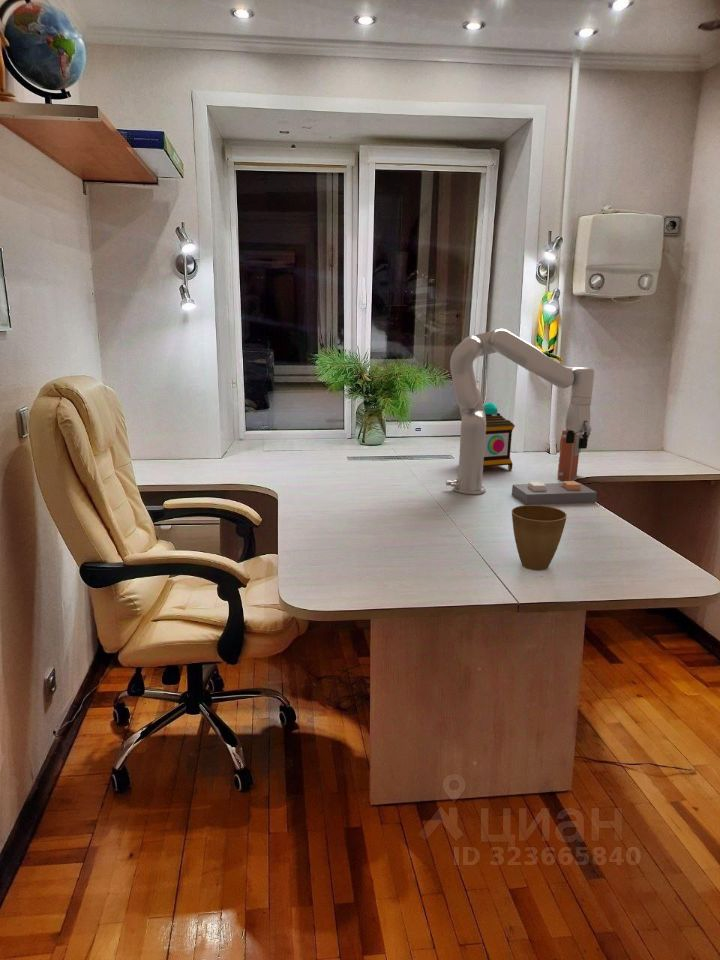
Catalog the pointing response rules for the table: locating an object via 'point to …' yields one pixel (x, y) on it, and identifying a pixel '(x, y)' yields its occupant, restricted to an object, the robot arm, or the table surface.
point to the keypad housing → (553, 494)
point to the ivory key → (537, 486)
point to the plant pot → (537, 534)
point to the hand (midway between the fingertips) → (575, 445)
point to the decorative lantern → (497, 438)
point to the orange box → (568, 457)
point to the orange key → (571, 485)
